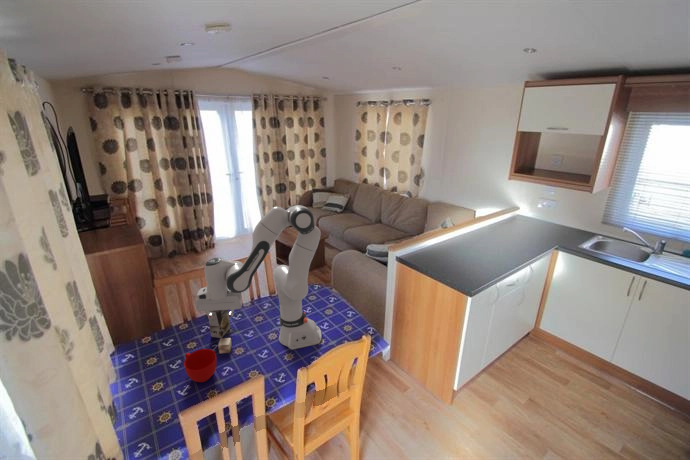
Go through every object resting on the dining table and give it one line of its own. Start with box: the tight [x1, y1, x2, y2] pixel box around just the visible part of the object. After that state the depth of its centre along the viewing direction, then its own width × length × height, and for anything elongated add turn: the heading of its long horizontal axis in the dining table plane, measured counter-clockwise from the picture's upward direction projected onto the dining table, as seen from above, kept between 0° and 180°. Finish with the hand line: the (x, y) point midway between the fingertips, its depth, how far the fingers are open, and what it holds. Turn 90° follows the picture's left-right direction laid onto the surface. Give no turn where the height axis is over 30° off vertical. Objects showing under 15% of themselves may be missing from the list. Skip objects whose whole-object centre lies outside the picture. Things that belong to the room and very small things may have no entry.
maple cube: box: [217, 337, 233, 354], centre depth 159 cm, size 5×5×5 cm
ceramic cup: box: [183, 348, 218, 383], centre depth 142 cm, size 13×17×10 cm
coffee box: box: [208, 310, 231, 339], centre depth 169 cm, size 9×6×16 cm
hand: (220, 316), depth 153 cm, fingers open, 8 cm apart
